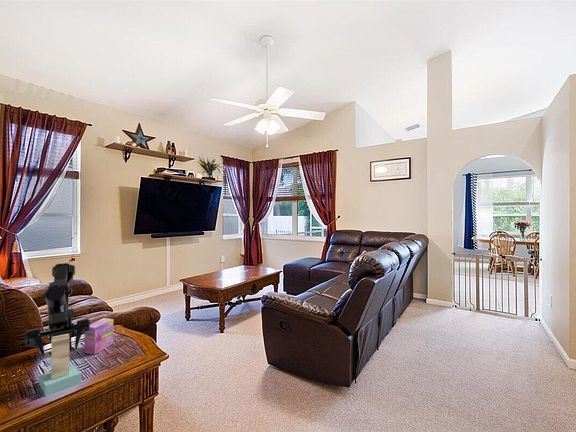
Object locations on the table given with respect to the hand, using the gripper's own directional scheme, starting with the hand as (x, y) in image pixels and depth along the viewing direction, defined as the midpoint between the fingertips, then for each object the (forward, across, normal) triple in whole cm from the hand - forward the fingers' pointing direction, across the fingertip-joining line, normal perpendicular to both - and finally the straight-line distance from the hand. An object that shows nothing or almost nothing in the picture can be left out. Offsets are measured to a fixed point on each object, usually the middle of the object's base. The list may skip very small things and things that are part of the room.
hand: (60, 353), depth 104 cm
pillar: (+5, 0, +6) cm, 8 cm away
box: (-8, +15, +25) cm, 30 cm away
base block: (+8, 0, +9) cm, 12 cm away
